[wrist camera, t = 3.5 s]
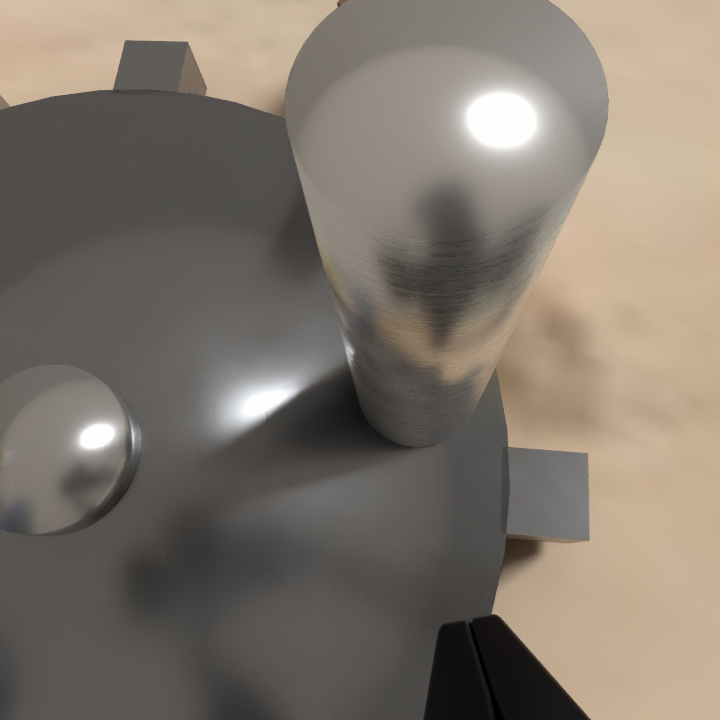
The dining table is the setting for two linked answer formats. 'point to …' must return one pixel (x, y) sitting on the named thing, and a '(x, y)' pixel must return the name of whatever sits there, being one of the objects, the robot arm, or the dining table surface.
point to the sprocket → (279, 364)
